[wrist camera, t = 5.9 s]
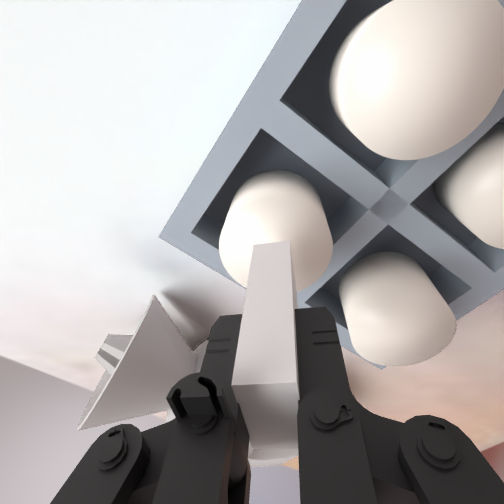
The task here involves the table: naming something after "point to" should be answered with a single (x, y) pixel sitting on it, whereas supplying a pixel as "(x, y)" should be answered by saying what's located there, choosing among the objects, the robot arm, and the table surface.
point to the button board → (336, 175)
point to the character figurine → (151, 377)
